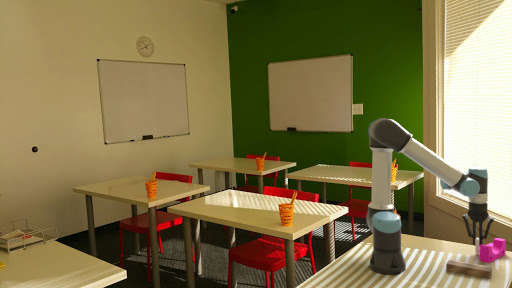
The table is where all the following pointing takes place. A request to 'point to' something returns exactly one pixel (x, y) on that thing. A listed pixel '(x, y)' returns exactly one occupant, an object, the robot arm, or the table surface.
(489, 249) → the toy block
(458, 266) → the walnut plank
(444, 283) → the table surface
